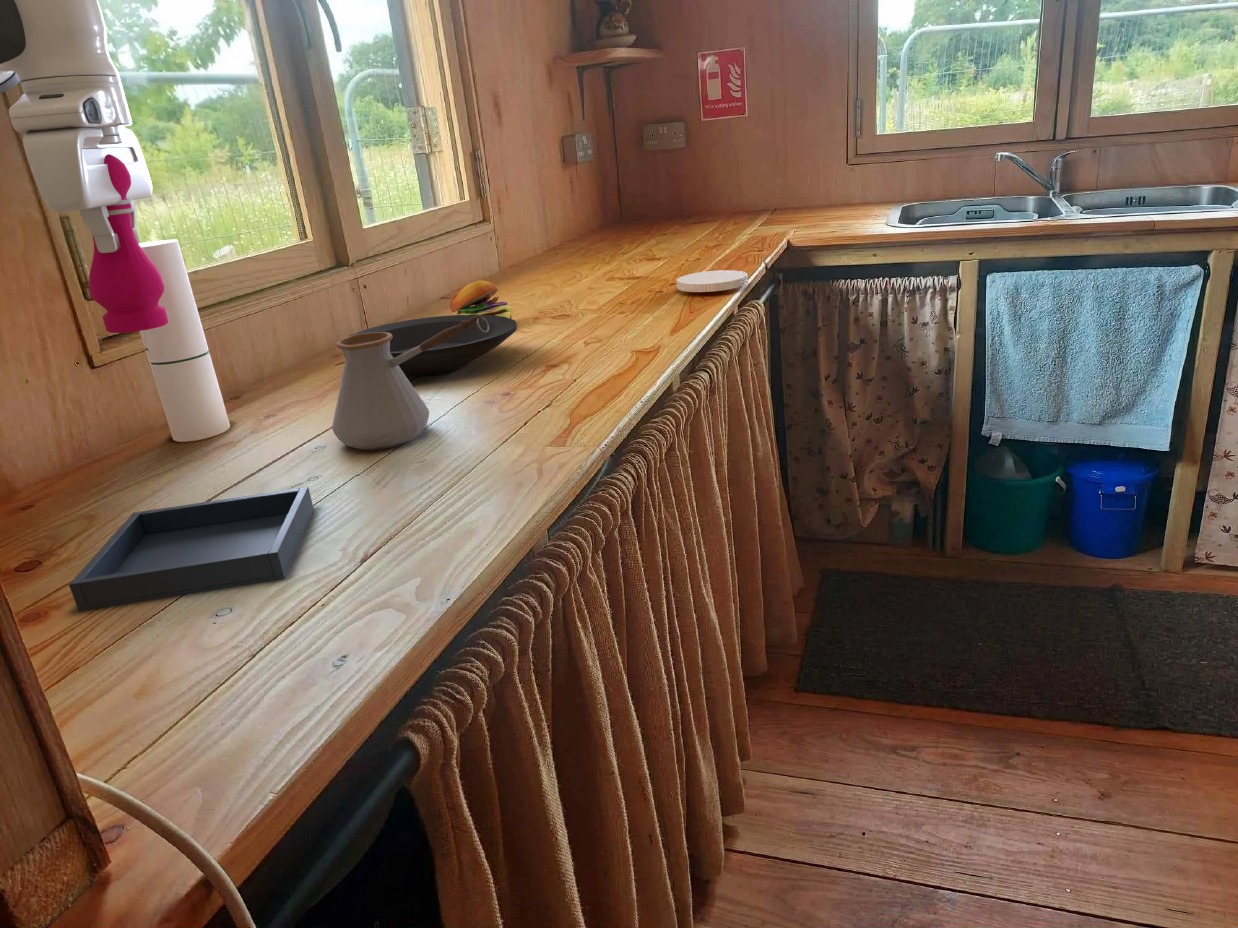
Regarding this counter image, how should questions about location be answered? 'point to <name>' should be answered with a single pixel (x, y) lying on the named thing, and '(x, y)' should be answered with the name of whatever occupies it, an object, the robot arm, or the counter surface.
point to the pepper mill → (125, 268)
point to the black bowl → (450, 352)
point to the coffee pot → (382, 391)
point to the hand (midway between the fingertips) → (120, 248)
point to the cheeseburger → (479, 300)
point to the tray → (196, 549)
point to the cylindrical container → (182, 353)
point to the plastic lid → (712, 281)
